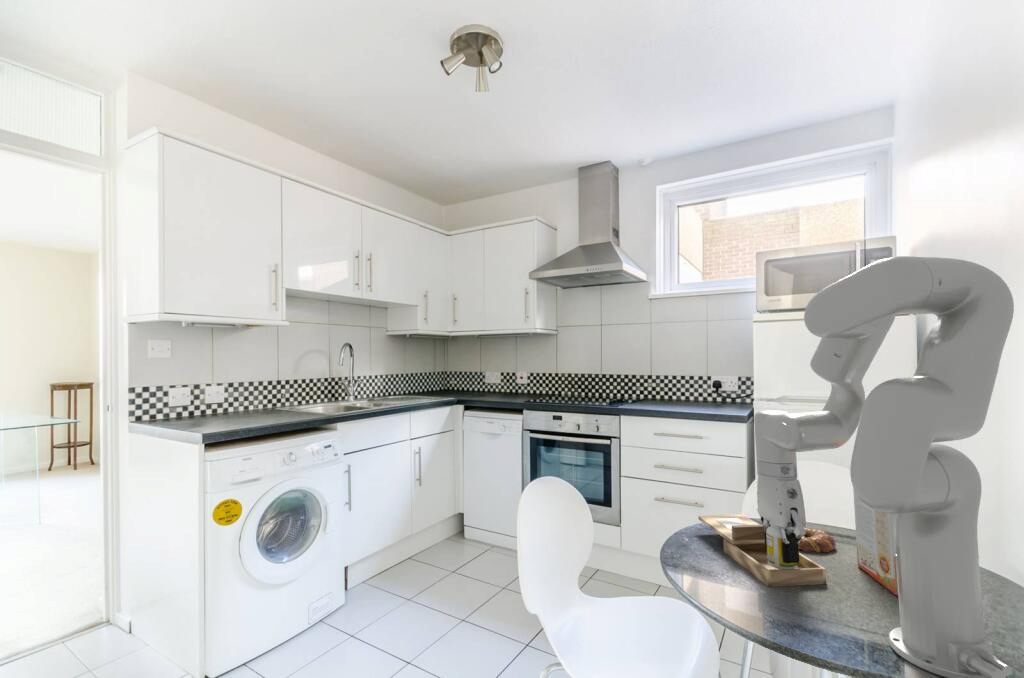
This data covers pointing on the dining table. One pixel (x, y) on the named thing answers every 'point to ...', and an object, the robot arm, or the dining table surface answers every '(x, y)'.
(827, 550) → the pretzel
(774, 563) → the supplement bottle
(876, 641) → the dining table surface
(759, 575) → the light wood shallow tray
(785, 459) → the robot arm
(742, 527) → the lid
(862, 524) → the cracker box
